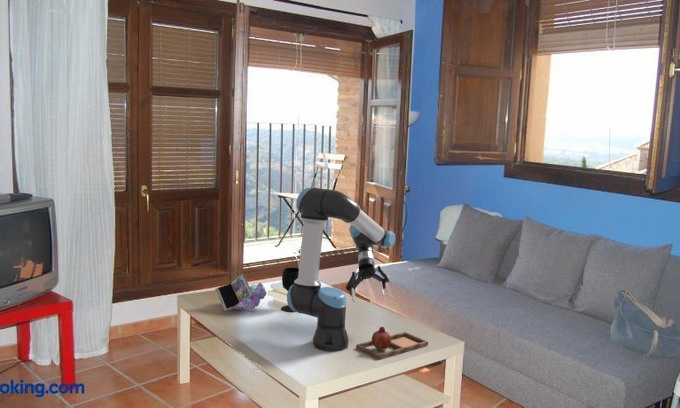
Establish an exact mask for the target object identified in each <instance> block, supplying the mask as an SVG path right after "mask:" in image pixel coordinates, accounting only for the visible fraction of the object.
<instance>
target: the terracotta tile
mask: <svg viewBox="0 0 680 408" xmlns="http://www.w3.org/2000/svg"><path fill="white" fill-rule="evenodd" d="M391 342H392V343H395V344H397V345H399V346H401V347H403V348H404V347H407V346H411V345H414V344H418V343H419V342H416V341H414V340H412V339H409V338H407V337H401V338H397V339H394V340H391Z"/></svg>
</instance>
